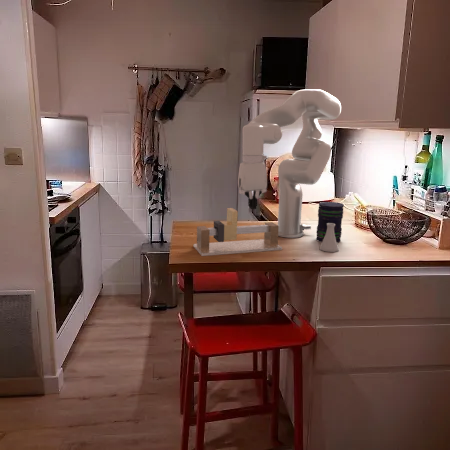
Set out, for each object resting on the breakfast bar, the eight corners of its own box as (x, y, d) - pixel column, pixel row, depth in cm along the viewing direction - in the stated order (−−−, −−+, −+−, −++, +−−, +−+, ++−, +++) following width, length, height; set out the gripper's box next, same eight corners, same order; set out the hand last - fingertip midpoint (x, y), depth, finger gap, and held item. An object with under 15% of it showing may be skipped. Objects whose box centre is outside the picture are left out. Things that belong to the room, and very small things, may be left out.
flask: (335, 253, 162) (337, 227, 160) (316, 250, 166) (318, 224, 163) (341, 249, 168) (343, 223, 166) (323, 245, 172) (325, 220, 169)
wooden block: (231, 235, 167) (232, 208, 164) (236, 239, 161) (237, 211, 159) (218, 236, 165) (219, 208, 163) (223, 240, 160) (224, 211, 157)
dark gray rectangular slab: (218, 237, 166) (218, 220, 164) (223, 241, 160) (224, 224, 158) (213, 237, 165) (213, 220, 164) (218, 242, 159) (219, 224, 158)
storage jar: (334, 236, 186) (337, 201, 182) (345, 242, 176) (348, 206, 173) (312, 237, 184) (314, 201, 180) (321, 243, 174) (324, 206, 171)
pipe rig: (269, 241, 176) (270, 220, 174) (282, 249, 165) (283, 227, 163) (193, 246, 166) (193, 224, 164) (201, 256, 155) (202, 232, 153)
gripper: (267, 157, 166) (267, 204, 171) (230, 159, 162) (230, 208, 167) (276, 159, 159) (275, 208, 165) (237, 161, 155) (237, 212, 160)
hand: (252, 208), depth 166 cm, fingers closed
